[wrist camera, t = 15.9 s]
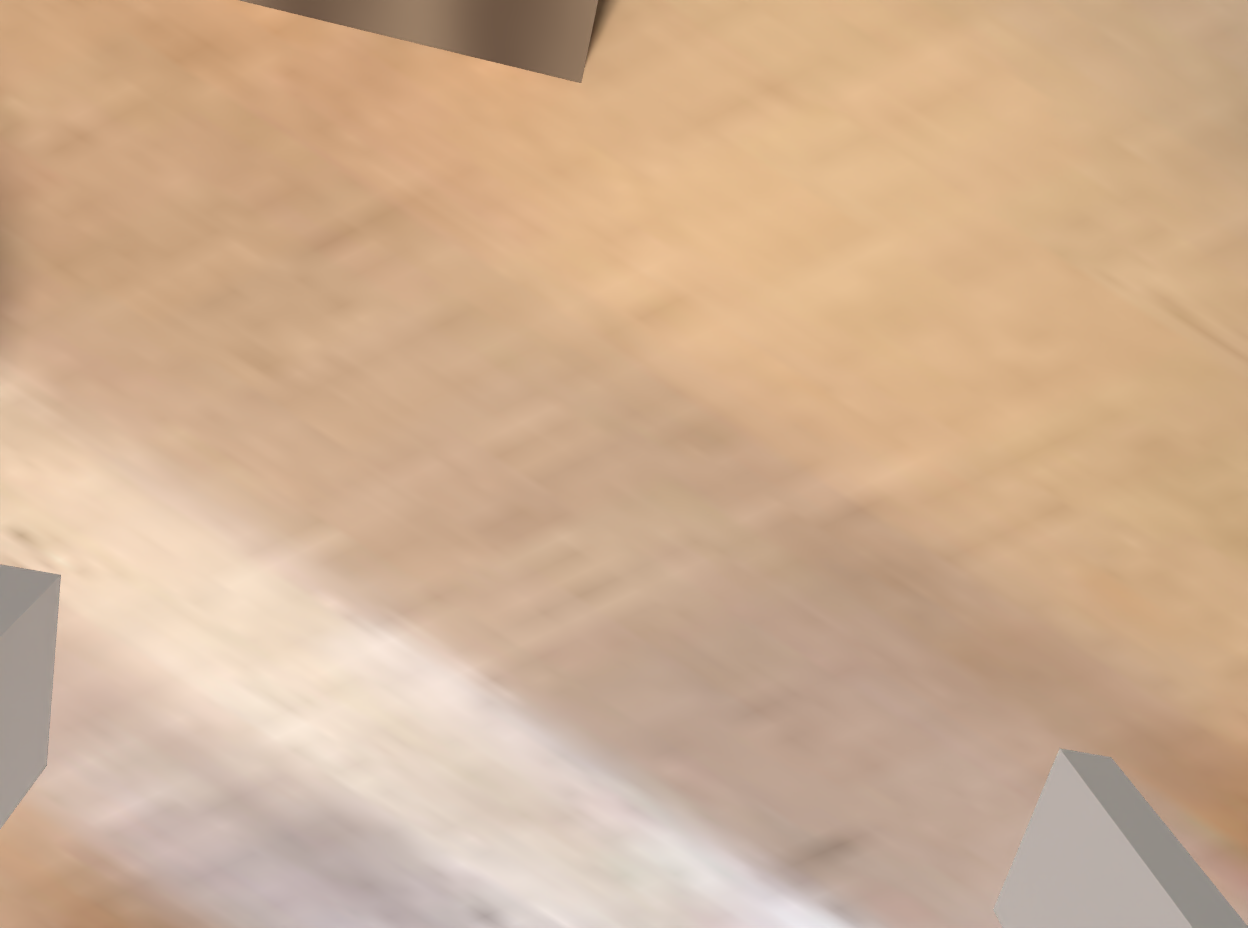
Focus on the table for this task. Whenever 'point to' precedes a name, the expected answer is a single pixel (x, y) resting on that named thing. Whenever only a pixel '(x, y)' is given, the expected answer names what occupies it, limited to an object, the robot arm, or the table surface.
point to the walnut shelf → (472, 27)
